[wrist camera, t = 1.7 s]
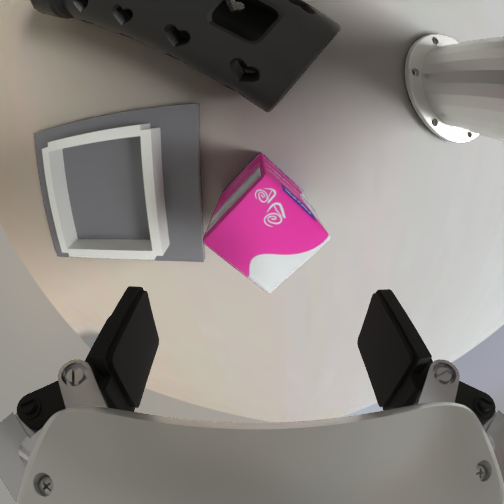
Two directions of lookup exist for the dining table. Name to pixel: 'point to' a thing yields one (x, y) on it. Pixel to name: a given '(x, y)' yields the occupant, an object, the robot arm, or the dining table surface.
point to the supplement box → (265, 225)
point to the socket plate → (125, 185)
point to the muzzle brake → (218, 37)
